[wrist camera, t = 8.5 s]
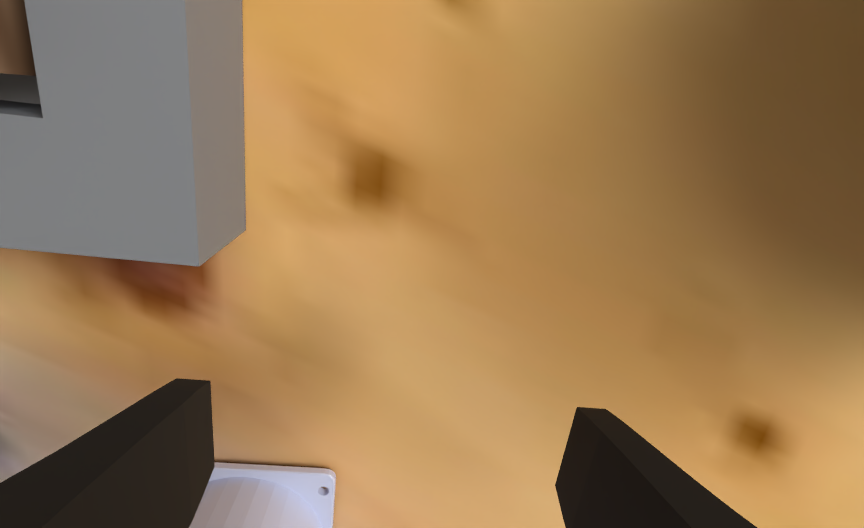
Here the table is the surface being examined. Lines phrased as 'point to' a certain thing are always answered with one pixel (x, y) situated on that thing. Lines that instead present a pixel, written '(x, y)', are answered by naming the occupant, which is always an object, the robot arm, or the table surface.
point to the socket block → (126, 131)
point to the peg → (15, 39)
